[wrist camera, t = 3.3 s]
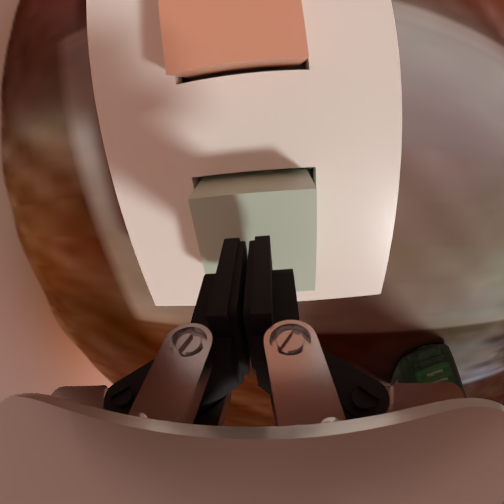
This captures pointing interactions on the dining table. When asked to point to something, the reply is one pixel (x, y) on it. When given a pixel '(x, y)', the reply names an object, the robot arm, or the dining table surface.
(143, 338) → the dining table surface
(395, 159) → the button panel
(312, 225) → the sage button
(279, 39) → the terracotta button
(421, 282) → the dining table surface
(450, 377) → the coffee jar
